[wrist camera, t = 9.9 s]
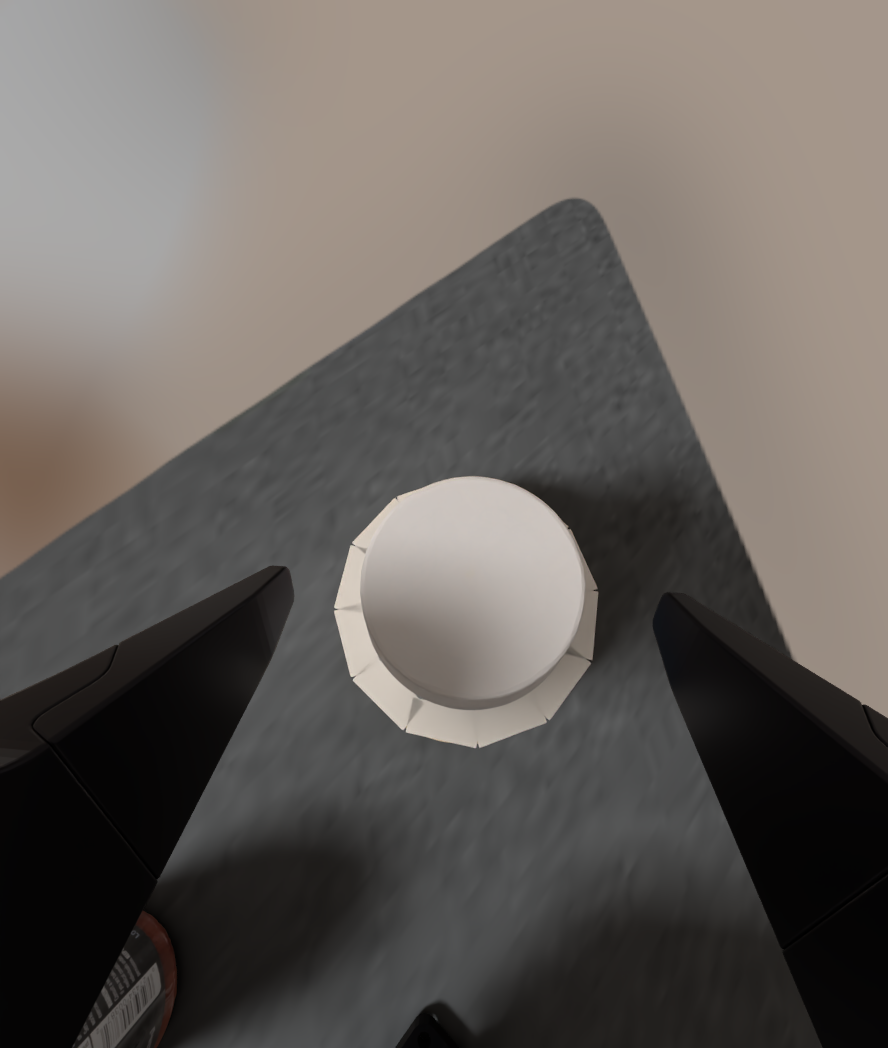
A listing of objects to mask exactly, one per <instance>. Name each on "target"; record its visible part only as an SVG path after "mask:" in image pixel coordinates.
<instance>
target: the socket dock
mask: <svg viewBox="0 0 888 1048" xmlns="http://www.w3.org/2000/svg"><path fill="white" fill-rule="evenodd" d="M451 479H452V478H451ZM421 489H422V488H421ZM418 490H419V489H418ZM416 491H417V490H415V491H412V492H409V493H406V494H403V495H400V496H397V498H398V501H397V500H396V499H395V498H394V499H393V500H392V501H391V502H390V503H389V504H388V505H387V506H386V508H385V509H384V510H383V511H382V512H381V513H380V514H379V515H378V516H377V517H376V518H375V519H374V520H373V521H372V522H371V523H370V524H369V525H368V527H367V528H366V529H365V530H364V531H363V532H362V533H361V534H360V535H359V536H358V537H357V538H356V539H355V540H354V541H353V542H352V543H353V544H354V545H355V546H350V550H349V554H348V557H347V561H346V565H345V569H344V572H343V576H342V580H341V584H340V588H339V591H338V595H337V599H336V603H335V606H334V608H337V609H339V610H336V611H334V613H335V617H336V621H337V625H338V628H339V632H340V636H341V640H342V644H343V648H344V652H345V656H346V660H347V664H348V668H349V671H350V675H351V677H353V676H356V677H355V678H354V679H353V681H354V682H355V683H356V684H357V685H358V686H359V687H360V688H361V689H362V690H363V691H364V692H365V693H366V694H367V695H368V696H369V697H370V698H371V699H372V700H373V701H374V702H375V703H376V704H377V705H378V707H379V708H381V709H382V710H383V711H384V712H385V713H386V714H387V715H388V716H389V717H390V718H391V719H392V720H393V721H394V722H395V723H396V724H397V725H398V726H399V727H400V728H401V729H402V730H403V729H404V728H405V727H406V728H407V729H406V732H407V733H412V734H416V735H420V736H425V737H428V738H432V739H435V740H438V741H443V742H449V743H456V744H460V745H464V746H469V747H473V748H476V745H477V744H478V745H479V748H481V747H483V746H486V745H489V744H491V743H494V742H497V741H499V740H502V739H504V738H507V737H510V736H512V735H515V734H518V733H520V732H523V731H526V730H528V729H531V728H534V727H536V726H539V725H542V724H544V723H547V722H546V719H545V717H546V718H547V719H549V720H550V719H551V718H552V716H553V715H554V714H555V712H556V711H557V710H558V708H559V707H560V705H561V704H562V703H563V701H564V700H565V699H566V697H567V696H568V694H569V693H570V692H571V690H572V689H573V688H574V686H575V685H576V684H577V682H578V681H579V679H580V678H581V677H582V675H583V674H584V673H585V671H586V670H587V669H588V667H589V666H590V664H591V663H590V662H589V661H588V660H587V659H589V660H593V648H594V637H595V625H596V614H597V602H598V592H596V591H593V590H595V589H598V588H597V586H596V584H595V581H594V579H593V577H592V575H591V573H590V570H589V568H588V566H587V564H586V561H585V559H584V557H583V555H582V553H581V550H580V548H579V546H578V544H577V542H576V539H575V537H574V535H573V533H572V531H571V529H569V532H570V533H571V535H572V536H573V539H574V541H575V543H576V545H577V547H578V550H579V553H580V556H581V559H582V563H583V569H584V575H585V581H586V587H585V605H584V610H583V615H582V619H581V622H580V625H579V628H578V631H577V633H576V635H575V637H574V639H573V641H572V643H571V645H570V647H569V648H568V650H567V651H566V653H565V654H564V656H563V657H562V658H561V660H560V662H559V663H558V665H557V666H556V667H555V669H554V670H553V671H552V672H551V674H550V675H549V676H548V677H547V678H546V679H545V680H544V681H543V682H542V683H541V684H540V685H539V686H538V687H536V688H535V689H534V690H532V691H531V692H529V693H528V694H526V695H525V696H523V697H521V698H519V699H517V700H515V701H513V702H511V703H509V704H506V705H502V706H499V707H495V708H490V709H484V710H460V709H452V708H448V707H444V706H441V705H438V704H434V703H432V702H429V701H427V700H425V699H423V698H421V697H419V696H418V695H416V694H414V693H413V692H411V691H410V690H409V689H407V688H406V687H405V686H403V685H402V684H401V683H400V682H399V681H398V680H397V679H396V678H395V677H394V676H393V675H392V674H391V673H390V672H389V671H388V669H387V668H386V667H385V666H384V664H383V663H382V661H381V659H380V658H379V656H378V654H377V653H376V651H375V649H374V647H373V645H372V642H371V639H370V637H369V633H368V630H367V625H366V622H365V619H364V615H363V610H362V605H361V596H360V581H361V571H362V565H363V561H364V558H365V554H366V551H367V548H368V546H369V544H370V541H371V539H372V537H373V535H374V533H375V532H376V530H377V528H378V527H379V525H380V524H381V522H382V521H383V520H384V518H385V517H386V516H387V515H388V514H389V512H390V511H391V510H392V509H394V508H395V507H396V506H397V505H398V504H399V503H400V502H401V501H403V500H404V499H405V498H406V497H408V496H409V495H411V494H412V493H414V492H416ZM564 524H565V523H564ZM565 525H566V524H565ZM566 527H567V528H568V527H569V526H567V525H566ZM544 716H545V717H544Z"/></svg>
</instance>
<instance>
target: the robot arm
mask: <svg viewBox="0 0 888 1048" xmlns="http://www.w3.org/2000/svg"><path fill="white" fill-rule="evenodd" d="M293 602H294V589H293V584H292V579H291V574H290V571H289V569H288V568H287V567H285V566H269V567H267V568H265V569H263V570H261V571H259V572H257V573H255V574H253V575H251V576H249V577H247V578H245V579H243V580H242V581H240V582H238V583H236V584H234V585H232V586H230V587H228V588H226V589H224V590H222V591H220V592H218V593H216V594H214V595H212V596H210V597H208V598H206V599H204V600H202V601H200V602H198V603H196V604H195V605H193V606H191V607H189V608H187V609H185V610H183V611H181V612H179V613H177V614H175V615H173V616H171V617H169V618H167V619H165V620H163V621H161V622H159V623H157V624H155V625H153V626H151V627H149V628H148V629H146V630H144V631H142V632H140V633H138V634H136V635H134V636H132V637H130V638H128V639H126V640H124V641H122V642H120V643H119V645H114V646H112V647H110V648H108V649H106V650H104V651H102V652H100V653H99V654H97V655H95V656H93V657H91V658H89V659H86V660H84V661H82V662H80V663H78V664H76V665H74V666H72V667H70V668H68V669H66V670H64V671H62V672H60V673H58V674H56V675H54V676H51V677H49V678H47V679H45V680H43V681H41V682H38V683H36V684H34V685H32V686H30V687H28V688H25V689H23V690H21V691H19V692H17V693H14V694H12V695H10V696H8V697H6V698H3V699H1V700H0V1048H72V1047H73V1045H74V1043H75V1042H76V1040H77V1038H78V1036H79V1034H80V1032H81V1030H82V1028H83V1026H84V1024H85V1022H86V1020H87V1018H88V1016H89V1014H90V1012H91V1010H92V1008H93V1006H94V1005H95V1003H96V1001H97V999H98V997H99V995H100V993H101V991H102V989H103V987H104V985H105V983H106V981H107V979H108V977H109V975H110V973H111V971H112V969H113V967H114V966H115V964H116V962H117V960H118V958H119V956H120V954H121V952H122V950H123V948H124V946H125V944H126V942H127V940H128V938H129V936H130V934H131V932H132V930H133V929H134V927H135V925H136V923H137V921H138V919H139V917H140V915H141V913H142V911H143V909H144V907H145V905H146V903H147V901H148V899H149V897H150V895H151V893H152V892H153V890H154V888H155V886H156V884H157V879H158V878H159V877H160V875H161V873H162V871H163V869H164V867H165V866H166V864H167V862H168V860H169V858H170V856H171V854H172V852H173V850H174V848H175V846H176V844H177V842H178V840H179V838H180V836H181V834H182V832H183V830H184V829H185V827H186V825H187V823H188V821H189V819H190V817H191V815H192V813H193V811H194V809H195V807H196V805H197V803H198V801H199V799H200V797H201V795H202V793H203V792H204V790H205V788H206V786H207V784H208V782H209V780H210V778H211V776H212V774H213V772H214V770H215V768H216V766H217V764H218V762H219V760H220V758H221V756H222V755H223V753H224V751H225V749H226V747H227V745H228V743H229V741H230V739H231V737H232V735H233V733H234V731H235V729H236V727H237V725H238V723H239V721H240V719H241V718H242V716H243V714H244V712H245V710H246V708H247V706H248V704H249V702H250V700H251V698H252V696H253V694H254V692H255V690H256V688H257V686H258V684H259V682H260V680H261V679H262V677H263V675H264V673H265V671H266V669H267V667H268V665H269V663H270V661H271V659H272V657H273V654H274V652H275V649H276V647H277V644H278V642H279V639H280V636H281V634H282V631H283V628H284V626H285V623H286V621H287V618H288V615H289V613H290V610H291V607H292V605H293ZM653 630H654V633H655V637H656V640H657V644H658V647H659V650H660V654H661V657H662V660H663V664H664V667H665V670H666V674H667V677H668V680H669V683H670V686H671V689H672V691H673V694H674V696H675V699H676V701H677V704H678V706H679V708H680V711H681V713H682V716H683V718H684V720H685V723H686V725H687V727H688V730H689V732H690V734H691V737H692V739H693V742H694V744H695V746H696V749H697V751H698V753H699V756H700V758H701V760H702V763H703V765H704V768H705V770H706V772H707V775H708V777H709V779H710V782H711V784H712V786H713V789H714V791H715V794H716V796H717V798H718V801H719V803H720V805H721V808H722V810H723V812H724V815H725V817H726V820H727V822H728V824H729V827H730V829H731V831H732V834H733V836H734V838H735V841H736V843H737V846H738V848H739V850H740V853H741V855H742V857H743V860H744V862H745V864H746V867H747V869H748V872H749V874H750V876H751V879H752V881H753V883H754V886H755V888H756V890H757V893H758V895H759V898H760V900H761V902H762V905H763V907H764V909H765V912H766V914H767V916H768V919H769V921H770V924H771V926H772V928H773V931H774V933H775V935H776V938H777V940H778V942H779V945H780V947H781V948H782V949H784V950H783V951H782V953H783V955H784V958H785V960H786V962H787V965H788V967H789V969H790V972H791V974H792V976H793V979H794V981H795V984H796V986H797V988H798V991H799V993H800V995H801V998H802V1000H803V1002H804V1005H805V1007H806V1009H807V1012H808V1014H809V1017H810V1019H811V1021H812V1024H813V1026H814V1028H815V1031H816V1033H817V1035H818V1038H819V1040H820V1043H821V1045H822V1047H823V1048H888V718H886V717H885V716H883V715H882V714H880V713H878V712H877V711H875V710H873V709H872V708H870V707H869V706H867V705H862V704H861V702H860V701H858V700H857V699H855V698H854V697H852V696H850V695H849V694H847V693H845V692H844V691H842V690H841V689H839V688H837V687H836V686H834V685H833V684H831V683H829V682H828V681H826V680H824V679H823V678H821V677H819V676H818V675H816V674H815V673H813V672H811V671H810V670H808V669H806V668H805V667H803V666H802V665H800V664H798V663H797V662H795V661H793V660H792V659H790V658H788V657H787V656H785V655H784V654H782V653H780V652H779V651H777V650H775V649H774V648H772V647H771V646H769V645H767V644H766V643H764V642H762V641H761V640H759V639H758V638H756V637H754V636H753V635H751V634H749V633H748V632H746V631H744V630H743V629H741V628H740V627H738V626H736V625H735V624H733V623H731V622H730V621H728V620H727V619H725V618H723V617H722V616H720V615H718V614H717V613H715V612H713V611H712V610H710V609H709V608H707V607H705V606H704V605H702V604H700V603H699V602H697V601H696V600H694V599H692V598H691V597H689V596H687V595H686V594H683V593H671V592H667V593H664V594H663V595H662V597H661V599H660V602H659V604H658V607H657V610H656V612H655V615H654V617H653ZM421 1032H427V1033H428V1034H429V1035H430V1037H428V1038H427V1039H423V1038H422V1037H420V1033H421ZM396 1048H459V1047H458V1046H457V1045H456V1044H455V1042H454V1041H453V1040H452V1039H451V1038H450V1036H449V1035H448V1034H447V1033H446V1032H445V1031H444V1029H443V1028H442V1027H441V1026H440V1025H439V1023H438V1022H437V1021H436V1020H435V1019H434V1018H433V1017H432V1016H431V1015H430V1014H426V1013H423V1014H420V1015H419V1016H418V1017H417V1018H416V1019H415V1020H414V1022H413V1023H412V1024H411V1026H410V1027H409V1029H408V1030H407V1032H406V1033H405V1035H404V1036H403V1038H402V1039H401V1040H400V1042H399V1043H398V1045H397V1046H396Z"/></svg>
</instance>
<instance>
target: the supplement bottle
mask: <svg viewBox="0 0 888 1048" xmlns="http://www.w3.org/2000/svg"><path fill="white" fill-rule="evenodd" d="M176 995H177V968H176V960H175V954H174V950H173V946H172V945H171V939H170V938H169V937H168V934H167V932H166V930H165V929H164V928H163V926H162V925H161V924H160V923H158V921H157V919H155V918H154V917H153V916H152V915H151V914H148V913H146V912H145V911H142V913H141V915H140V917H139V919H138V921H137V923H136V925H135V927H134V929H133V930H132V932H131V934H130V936H129V938H128V940H127V942H126V944H125V946H124V948H123V950H122V952H121V954H120V956H119V958H118V960H117V962H116V964H115V966H114V967H113V969H112V971H111V973H110V975H109V977H108V979H107V981H106V983H105V985H104V987H103V989H102V991H101V993H100V995H99V997H98V999H97V1001H96V1003H95V1005H94V1006H93V1008H92V1010H91V1012H90V1014H89V1016H88V1018H87V1020H86V1022H85V1024H84V1026H83V1028H82V1030H81V1032H80V1034H79V1036H78V1038H77V1040H76V1042H75V1043H74V1045H73V1047H72V1048H157V1046H158V1044H159V1043H160V1041H161V1039H162V1037H163V1035H164V1032H165V1030H166V1028H167V1025H168V1022H169V1019H170V1016H171V1013H172V1010H173V1006H174V1000H175V997H176Z"/></svg>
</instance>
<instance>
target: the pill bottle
mask: <svg viewBox="0 0 888 1048" xmlns="http://www.w3.org/2000/svg"><path fill="white" fill-rule="evenodd" d="M585 587H586V581H585V575H584V569H583V563H582V559H581V556H580V553H579V550H578V547H577V545H576V543H575V541H574V539H573V536H572V535H571V533H570V532H569V530H568V528H567V527H566V525H565V524H564V522H563V521H562V520H561V519H560V518H559V516H558V515H557V514H556V513H555V512H554V511H553V510H552V509H551V508H550V507H549V506H548V505H547V504H546V503H545V502H543V501H542V500H541V499H539V498H538V497H536V496H535V495H534V494H532V493H530V492H528V491H527V490H525V489H523V488H521V487H519V486H517V485H515V484H512V483H508V482H505V481H502V480H498V479H493V478H488V477H477V476H468V477H457V478H452V479H446V480H442V481H439V482H436V483H433V484H430V485H428V486H426V487H424V488H422V489H419V490H417V491H416V492H414V493H412V494H411V495H409V496H408V497H406V498H405V499H404V500H403V501H401V502H400V503H399V504H398V505H397V506H396V507H395V508H394V509H392V510H391V511H390V512H389V514H388V515H387V516H386V517H385V518H384V520H383V521H382V522H381V524H380V525H379V527H378V528H377V530H376V532H375V533H374V535H373V537H372V539H371V541H370V544H369V546H368V548H367V551H366V554H365V558H364V561H363V565H362V571H361V581H360V596H361V605H362V610H363V615H364V619H365V622H366V625H367V630H368V633H369V637H370V639H371V642H372V645H373V647H374V649H375V651H376V653H377V654H378V656H379V658H380V659H381V661H382V663H383V664H384V666H385V667H386V668H387V669H388V671H389V672H390V673H391V674H392V675H393V676H394V677H395V678H396V679H397V680H398V681H399V682H400V683H401V684H402V685H403V686H405V687H406V688H407V689H409V690H410V691H411V692H413V693H414V694H416V695H418V696H419V697H421V698H423V699H425V700H427V701H429V702H432V703H434V704H438V705H441V706H444V707H448V708H452V709H460V710H484V709H490V708H495V707H499V706H502V705H506V704H509V703H511V702H513V701H515V700H517V699H519V698H521V697H523V696H525V695H526V694H528V693H529V692H531V691H532V690H534V689H535V688H536V687H538V686H539V685H540V684H541V683H542V682H543V681H544V680H545V679H546V678H547V677H548V676H549V675H550V674H551V672H552V671H553V670H554V669H555V667H556V666H557V665H558V663H559V662H560V660H561V658H562V657H563V656H564V654H565V653H566V651H567V650H568V648H569V647H570V645H571V643H572V641H573V639H574V637H575V635H576V633H577V631H578V628H579V625H580V622H581V619H582V615H583V610H584V605H585Z"/></svg>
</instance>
